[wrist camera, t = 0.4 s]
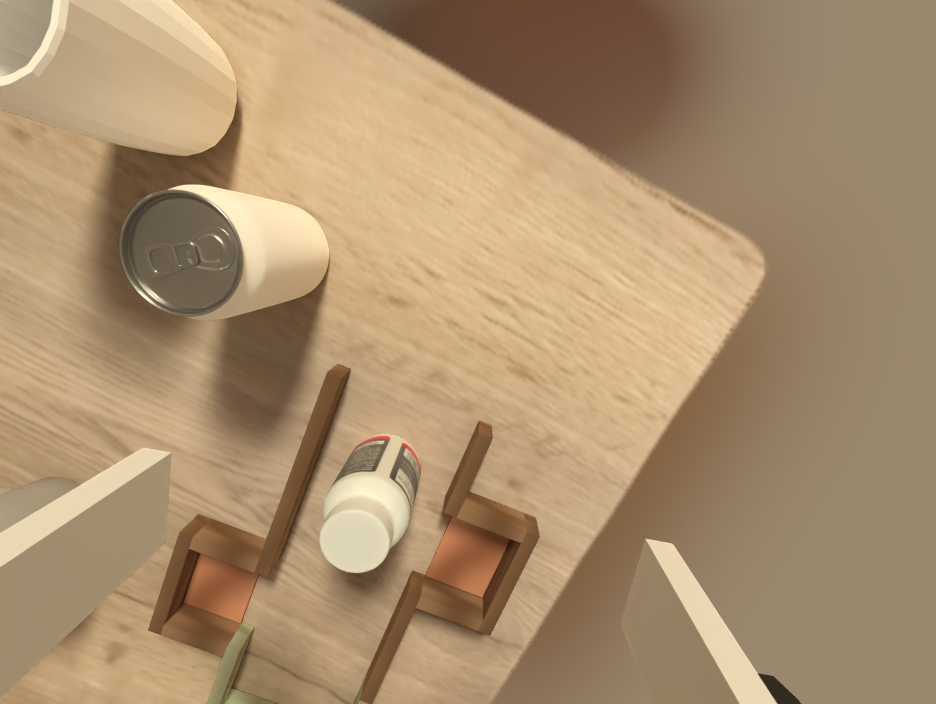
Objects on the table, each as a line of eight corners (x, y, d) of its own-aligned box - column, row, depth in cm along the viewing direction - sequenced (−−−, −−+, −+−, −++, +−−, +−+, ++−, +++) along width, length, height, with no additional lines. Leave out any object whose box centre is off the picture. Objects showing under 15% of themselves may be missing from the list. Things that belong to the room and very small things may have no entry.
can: (341, 289, 34) (269, 311, 22) (253, 307, 34) (136, 338, 23) (317, 193, 33) (227, 163, 21) (225, 214, 33) (86, 196, 21)
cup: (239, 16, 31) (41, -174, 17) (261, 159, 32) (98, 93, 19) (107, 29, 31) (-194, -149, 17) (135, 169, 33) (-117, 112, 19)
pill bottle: (343, 486, 37) (296, 569, 28) (360, 422, 36) (317, 486, 27) (411, 506, 37) (388, 595, 28) (430, 443, 36) (413, 513, 27)
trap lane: (148, 668, 41) (122, 701, 38) (258, 332, 35) (238, 339, 32) (414, 762, 43) (410, 800, 40) (566, 455, 36) (574, 474, 33)
